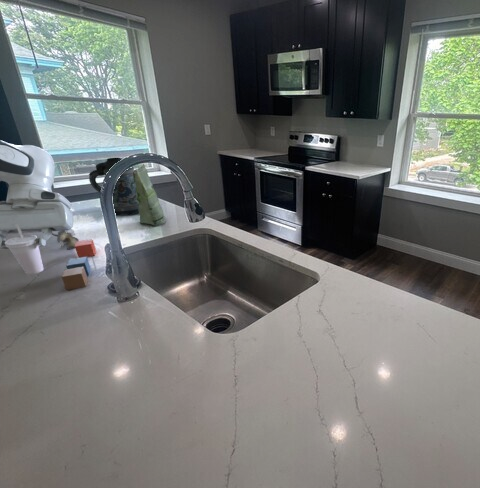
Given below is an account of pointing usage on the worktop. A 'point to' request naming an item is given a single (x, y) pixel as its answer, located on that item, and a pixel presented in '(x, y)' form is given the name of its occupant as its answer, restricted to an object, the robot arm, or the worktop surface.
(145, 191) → the pouch
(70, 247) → the eagle figurine
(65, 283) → the block row
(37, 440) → the worktop surface
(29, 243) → the smoothie
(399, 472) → the worktop surface
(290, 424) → the worktop surface
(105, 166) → the beer stein
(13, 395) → the worktop surface
